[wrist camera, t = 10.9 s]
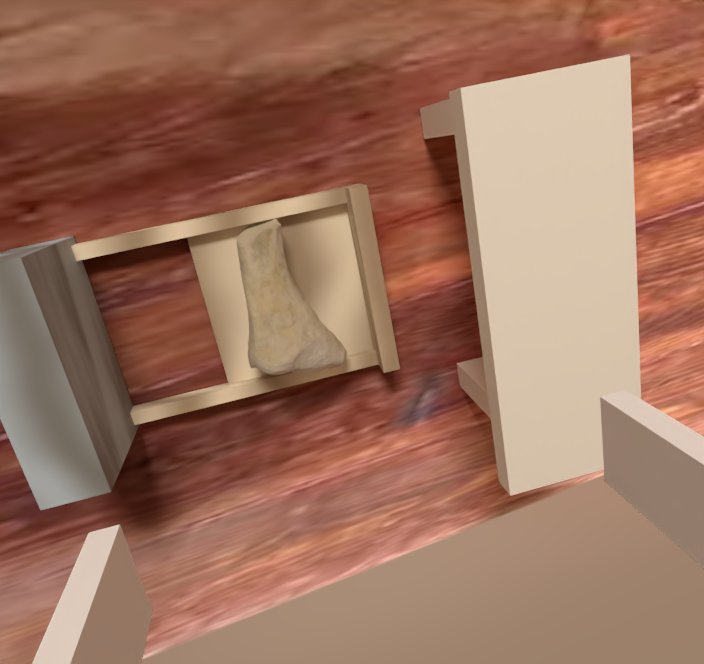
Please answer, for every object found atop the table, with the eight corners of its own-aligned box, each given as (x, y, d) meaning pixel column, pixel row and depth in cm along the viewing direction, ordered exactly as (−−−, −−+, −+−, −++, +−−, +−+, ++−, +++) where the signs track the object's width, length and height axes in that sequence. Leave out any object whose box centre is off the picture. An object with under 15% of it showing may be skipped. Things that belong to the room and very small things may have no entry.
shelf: (430, 393, 44) (510, 495, 31) (384, 115, 38) (460, 87, 24) (524, 369, 45) (642, 458, 32) (495, 93, 39) (629, 54, 25)
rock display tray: (84, 437, 41) (40, 510, 32) (10, 249, 36) (-63, 275, 28) (391, 361, 43) (426, 409, 35) (357, 176, 39) (387, 179, 30)
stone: (347, 351, 42) (358, 374, 37) (272, 390, 42) (274, 418, 37) (274, 214, 38) (277, 221, 34) (192, 256, 38) (183, 269, 33)
